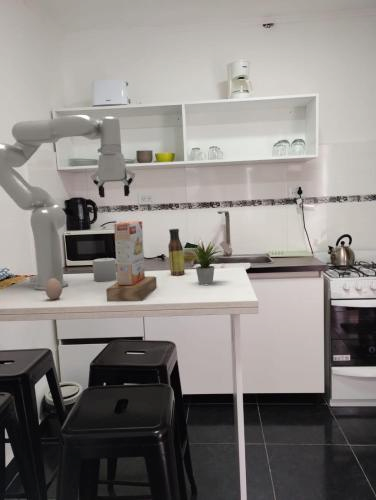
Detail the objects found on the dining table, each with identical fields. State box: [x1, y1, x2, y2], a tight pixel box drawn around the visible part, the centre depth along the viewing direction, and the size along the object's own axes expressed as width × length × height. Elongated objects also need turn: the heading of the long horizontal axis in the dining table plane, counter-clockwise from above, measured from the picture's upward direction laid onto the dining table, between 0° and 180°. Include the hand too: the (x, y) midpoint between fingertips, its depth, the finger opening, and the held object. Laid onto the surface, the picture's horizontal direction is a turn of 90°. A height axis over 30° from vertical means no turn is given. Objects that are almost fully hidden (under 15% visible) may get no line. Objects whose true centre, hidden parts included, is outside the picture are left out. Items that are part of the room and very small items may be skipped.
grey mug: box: [92, 257, 117, 283], centre depth 175 cm, size 9×13×9 cm
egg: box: [45, 278, 63, 301], centre depth 141 cm, size 5×5×7 cm
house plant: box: [189, 241, 225, 286], centre depth 154 cm, size 14×14×16 cm
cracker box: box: [113, 220, 146, 285], centre depth 143 cm, size 14×6×21 cm, turn 169°
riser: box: [105, 275, 158, 302], centre depth 144 cm, size 12×20×4 cm, turn 171°
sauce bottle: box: [167, 228, 186, 276], centre depth 177 cm, size 7×6×20 cm
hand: (114, 196), depth 157 cm, fingers open, 9 cm apart
